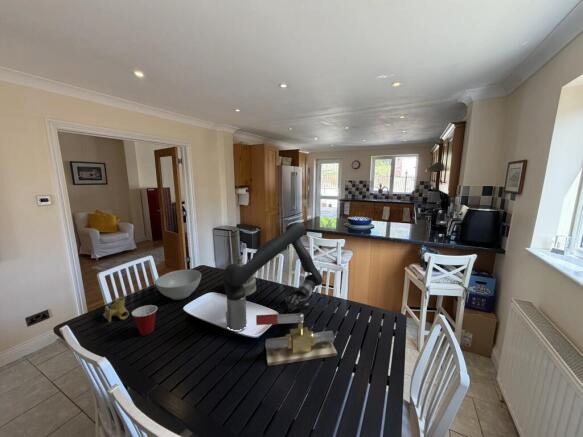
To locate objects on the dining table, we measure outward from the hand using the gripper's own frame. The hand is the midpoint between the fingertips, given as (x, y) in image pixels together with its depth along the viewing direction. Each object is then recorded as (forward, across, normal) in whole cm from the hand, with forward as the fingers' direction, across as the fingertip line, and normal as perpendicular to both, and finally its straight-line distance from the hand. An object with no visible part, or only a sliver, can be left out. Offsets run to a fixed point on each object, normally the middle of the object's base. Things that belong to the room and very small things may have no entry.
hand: (289, 310), depth 107 cm
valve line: (+4, +7, +15) cm, 16 cm away
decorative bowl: (-9, -83, +16) cm, 85 cm away
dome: (-31, -51, +16) cm, 62 cm away
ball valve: (+23, -95, +16) cm, 99 cm away
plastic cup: (+24, -68, +16) cm, 74 cm away
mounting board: (+4, +7, +16) cm, 18 cm away
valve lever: (+8, -1, +2) cm, 8 cm away
